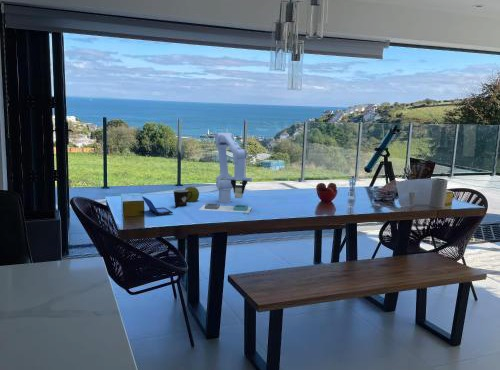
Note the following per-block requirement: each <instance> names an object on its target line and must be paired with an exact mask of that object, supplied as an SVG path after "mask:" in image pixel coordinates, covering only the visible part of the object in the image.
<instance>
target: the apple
mask: <svg viewBox="0 0 500 370" xmlns="http://www.w3.org/2000/svg"><path fill="white" fill-rule="evenodd" d="M184 190H188V192H192V197H191V193H188V197H187V200H188V199H189V198H190V197H191V198H190V199H189V200H188V201H187V203H194V202H195V203H196V202H198V199H199V197H200V191H199V189H198V188H197V187H196V186H187V187H185V188H184Z"/></svg>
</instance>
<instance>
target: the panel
mask: <svg viewBox="0 0 500 370" xmlns="http://www.w3.org/2000/svg"><path fill="white" fill-rule="evenodd" d="M252 209H253V208H252V207H251V206H249V205H247V204H235V205H221V203H214V202H213V203H211V202H207V203H206V204H203V205H202V206H201V207H200V208H199V209H198V210H199V211H214V212H227V213H228V212H229V213H231V212H232V213H243V215H249V214H250V212H252Z"/></svg>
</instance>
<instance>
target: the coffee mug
mask: <svg viewBox="0 0 500 370" xmlns="http://www.w3.org/2000/svg"><path fill="white" fill-rule="evenodd" d="M184 189H185V188H184ZM184 189H182V188H181V189H173V198H174V205H175V206H174V207H175V208H176V209H178V208H179V207H180V208H181V207H183V208H184V207H187V206H188V205H187V203H188V202H187V201H188V200H189V199H190V198H191V197H192V192H188V190H184ZM188 193H191V197H190V198H189V199H188V200H187V197H188Z"/></svg>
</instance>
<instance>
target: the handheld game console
mask: <svg viewBox="0 0 500 370" xmlns="http://www.w3.org/2000/svg"><path fill="white" fill-rule="evenodd" d="M142 200H143V201H144V203H145V204H146V205H147V207H148V210H149V212H151V213H152V214H154V215H156V216H157V217H161V216H171V215H173V213H174V212H173V211H172V210H170V209H168V208H166V207H155V205H154V204H153V202H152V200H150V199H149V198H147V197H145V196H144V195H143V196H142Z"/></svg>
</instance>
